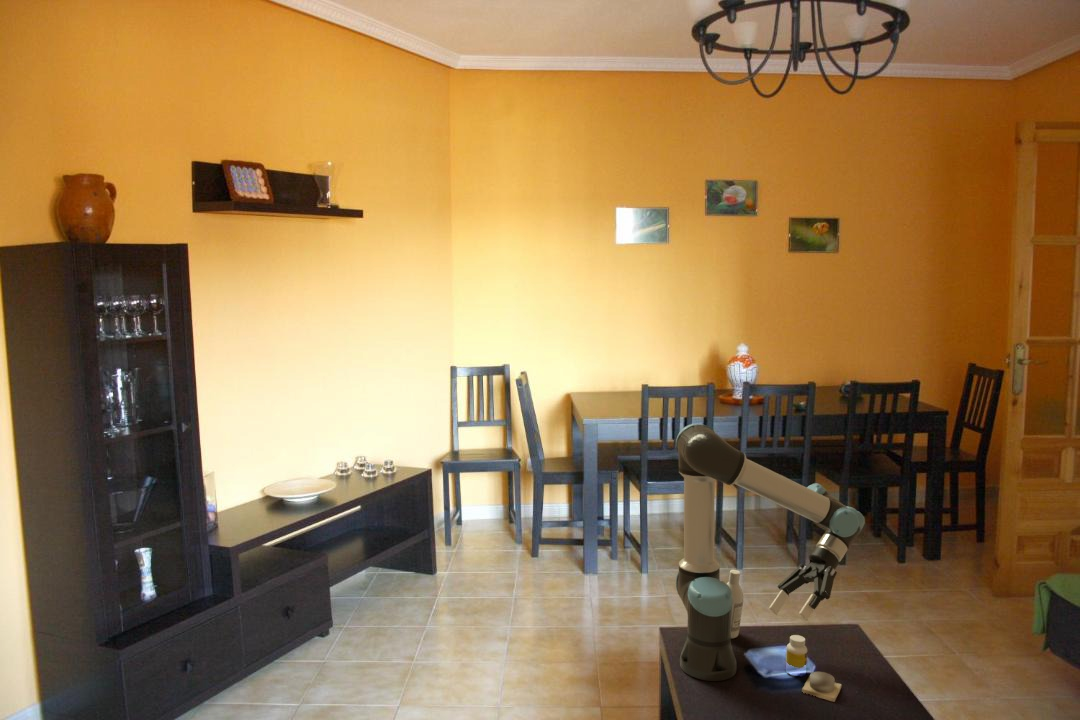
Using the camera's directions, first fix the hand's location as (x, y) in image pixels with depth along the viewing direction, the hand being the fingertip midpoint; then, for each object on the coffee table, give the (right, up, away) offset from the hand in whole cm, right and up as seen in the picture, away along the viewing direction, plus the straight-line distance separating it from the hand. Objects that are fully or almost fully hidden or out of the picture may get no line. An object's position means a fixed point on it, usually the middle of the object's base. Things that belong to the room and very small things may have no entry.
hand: (787, 614), depth 209 cm
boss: (+6, -16, -10) cm, 20 cm away
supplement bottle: (+2, -16, -1) cm, 16 cm away
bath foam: (-12, -13, +21) cm, 27 cm away
